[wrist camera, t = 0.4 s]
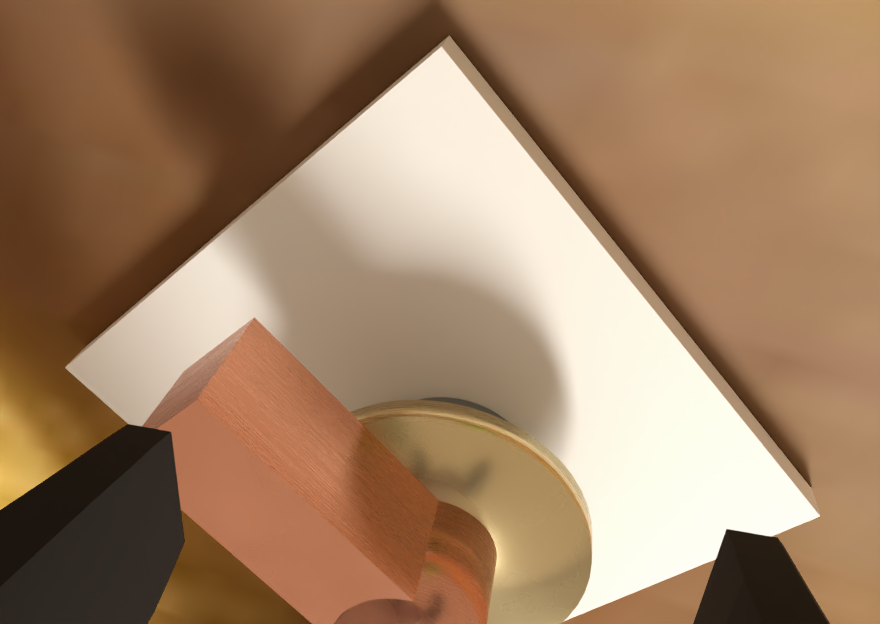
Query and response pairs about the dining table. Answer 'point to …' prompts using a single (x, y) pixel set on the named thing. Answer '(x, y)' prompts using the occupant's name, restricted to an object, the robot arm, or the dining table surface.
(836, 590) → the dining table surface
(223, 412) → the lever handle
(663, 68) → the dining table surface
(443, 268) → the board
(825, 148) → the dining table surface
